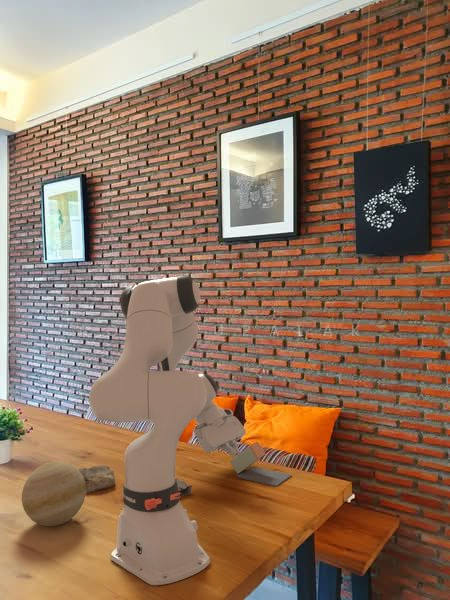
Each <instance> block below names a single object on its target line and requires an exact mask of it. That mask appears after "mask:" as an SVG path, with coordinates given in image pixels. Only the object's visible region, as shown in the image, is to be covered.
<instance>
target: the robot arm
mask: <svg viewBox="0 0 450 600" xmlns="http://www.w3.org/2000/svg"><path fill="white" fill-rule="evenodd" d="M119 299H120V308H121V311H122V314H123V316H124V318H126V328H125V329H126V331H125V338H124V339H125V340H124V346H123V349H122V350H123V351H122V353H121V354H120V357H118V360H117V361H116V362H115V364H114V365H113V366H111V368H109V370H108V371H106V372H104V373H103V374H101V375H99V377H98V378H97V379H95V381H94V382H93V384H92V386H91V388H90V390H89V394H88V396H89V397H88V401H89V407H90V409H91V411H92V413H93V415H94V416H95V417H96V418H97V419H98V420H100V421H106V422H113V423H117V424H118V423H137V422H138V423H139V422H150V423H152V424H153V425H152V428H151V429H150V430H149V431H147V432H146V433H145V434H142V435H141V436H139V437H137V438H136V439H133V440H132V441H131V442H130V443H129V444H128V446H127V448H126V449H125V451H124V479H125V480H124V483H123V487H122V488H123V490H122V498H123V500H122V502H123V503H124V505H123V508H122V510H121V512H120V514H119V515H118V518H117V527H116V529H117V530H116V544H115V545H116V547H115V549H114V550H112V552H111V553H110V560H111V561H113V562H114V563H116V564H117V565H119V566H120V567H122V568H123V569H125V570H126V571H128V572H130V573H131V574H133V575H134V576H136V577H138V578H139V579H141V580H142V581H144V582H145V583H146V584H148V585H150V586H162V585H167V584H168V585H169V584H173V583H175V582H179V581H181V580H184V579H186V578H189V577H192V576H194V575H196V574H197V573H200V572H201V571H203V570H205V568H207V567H208V566H209V565H210V564H211V559H210V557H209V554H207V552H206V551H205V550H204V548H203V547H202V546H201V545H200V543H199V542H198V535H197V531H198V528H199V527H198V524H197V520H195V519H194V520H193V519H192V520H190V519H191V518H190V517H189V516H188V510H187V509H186V508H184V507H183V505H182V503H181V497H182V496H181V497H180V495H179V494H181V493H179V491H180V488H179V487H178V485H177V481H176V457H177V449H178V444H179V441H180V438H181V436H182V434H183V433H184V432H185V431H184V430H185V429H186V428H187V426H188V425H189V424H190V422H192V421H193V419H194V422H195V423H196V424H197V425H196V426H194V434H195V435H196V438H197V441H198V444H199V445H200V446H201V448H202V450H203V451H204V452H205V453H207V454H210V453H213V452H215V451H217V450H219V449H222V450H223V451H224V452H226V453H228V454H229V455H230V456H231V458H235V457H236V456H237V455H239V454H240V453H241V451H240V449H239V448H238V444H237V441H239V440H241V439H243V437H244V436H246V429H245V427H244V425H243V424H242V423H241V421H240V420H239V419H238V418H237V416H235V415H234V412H233V411H232V410H231V409H229V408H222V407H219V406H218V405H217V404H216V403H214V400H215V399H216V397H217V395H218V391H219V386H218V384H217V383H216V381H215V380H214V378H213V377H212V376H211V375H209V374H206V373H202V372H201V373H194V372H190V371H185V370H176V369H177V365H178V364H179V362H180V361H181V360H182V358H183V357H184V356H185V355H186V354H187V353H188V352H189V351H190V350H191V349H192V348H193V347H194V345H195V343H196V342H197V339H198V336H199V330H198V324H197V321H196V316H195V315H194V311H196V310H197V309H198V308H199V306H200V303H201V290H200V288H199V285H198V283H197V281H196V280H195V279H194V278H193V277H191V276H190V275H178V276H174V277H173V276H172V277H165V278H160V279H151V280H148V281H143V282H140V283H137V284H132V285H130V286H128V287H125V288H124V289H123V291H122V292H121V295H120V297H119ZM156 365H157V370H154V371H153V370H151V371H149V370H150V369H151V368H152V367H153V366H156Z"/></svg>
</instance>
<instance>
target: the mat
mask: <svg viewBox="0 0 450 600" xmlns="http://www.w3.org/2000/svg"><path fill="white" fill-rule="evenodd" d="M291 477H293V474H290V473H286V472H285V473H284V472H281V471H275V470H271V469H267V468H262V467H257V466H252V467H251V466H250V468H247V469H245V470H244V471H242V472H240V473H239V474H237V475H236V478H238V479H242V480H246V481H250V482H255V483H258V484H263V485H267V486H272V487H278V486H280V485H281V484H282V483H284V482H285V481H287V480H288V479H290V478H291Z"/></svg>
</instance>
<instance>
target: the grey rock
mask: <svg viewBox="0 0 450 600" xmlns="http://www.w3.org/2000/svg"><path fill="white" fill-rule="evenodd" d="M77 469H78V468H77ZM78 470H79V471H80V473H81V474H82V476H83V478H84V481H85V486H86V494H87V492H89V493H93V492H95V491H100V490H102V489H106V488H111V487H112V486H114V485H115V484H116V482H115V481H116V478H115V477H116V476H115V475H114V474H115V471H114V470H111V469H110V466H107V465H97V466H96V465H95V466H91V467H89V468H86V467H84V468H79V469H78Z"/></svg>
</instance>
